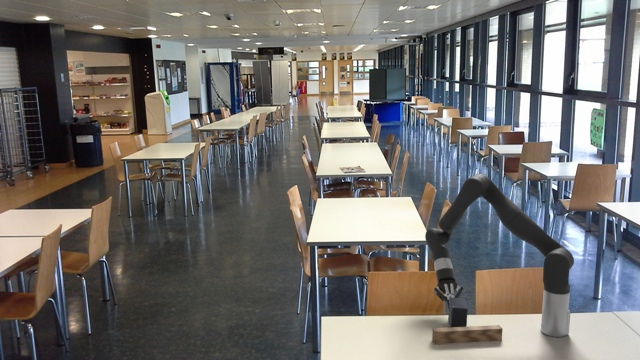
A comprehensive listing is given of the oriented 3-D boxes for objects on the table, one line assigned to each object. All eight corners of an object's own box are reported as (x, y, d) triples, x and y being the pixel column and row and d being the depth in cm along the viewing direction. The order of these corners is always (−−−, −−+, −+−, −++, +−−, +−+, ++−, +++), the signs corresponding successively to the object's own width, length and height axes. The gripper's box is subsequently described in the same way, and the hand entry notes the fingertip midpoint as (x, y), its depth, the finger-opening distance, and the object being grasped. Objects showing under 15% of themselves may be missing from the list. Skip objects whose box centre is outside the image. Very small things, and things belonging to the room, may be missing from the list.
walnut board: (498, 337, 210) (499, 325, 209) (501, 340, 207) (502, 328, 206) (432, 340, 207) (432, 328, 206) (434, 344, 204) (434, 331, 203)
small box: (467, 333, 213) (468, 308, 211) (450, 332, 213) (451, 307, 212) (463, 321, 223) (464, 297, 221) (447, 321, 224) (448, 296, 222)
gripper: (430, 267, 229) (438, 307, 220) (461, 266, 230) (470, 305, 221) (427, 275, 236) (434, 313, 226) (457, 274, 237) (465, 312, 227)
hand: (452, 309), depth 223 cm, fingers closed
